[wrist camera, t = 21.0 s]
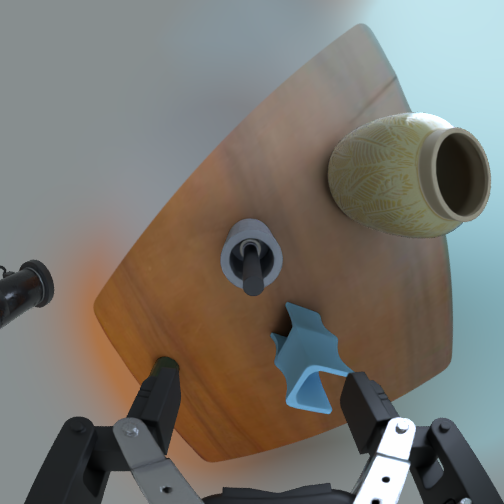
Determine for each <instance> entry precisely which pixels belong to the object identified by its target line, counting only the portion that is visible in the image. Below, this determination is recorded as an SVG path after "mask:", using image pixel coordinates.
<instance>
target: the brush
mask: <svg viewBox="0 0 504 504" xmlns="http://www.w3.org/2000/svg"><path fill="white" fill-rule="evenodd" d="M260 252H261V246H260V242H259V239H253V238H249V239H245V240H242V241H240V253H241V255H242V256H243V290H244V292H245V293H246V294H248V295H250V296H257V295H259V294H261V293H262V291H263V290H264V281H263V276H262V271H261V266H260V261H259V255H260Z"/></svg>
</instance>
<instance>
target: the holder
mask: <svg viewBox="0 0 504 504" xmlns="http://www.w3.org/2000/svg"><path fill="white" fill-rule="evenodd" d="M162 367H167V368H175V369H178V371H179V365H178V364H177V362H176V361H175V360H173V359H171V358H169V357H160V358H158V359H157V360H156V362H155V364H154V366H153V368H152V370H151V372H150V375H149V377H150V376H157V377H158V374H159V372H160V370H161V368H162Z"/></svg>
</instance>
